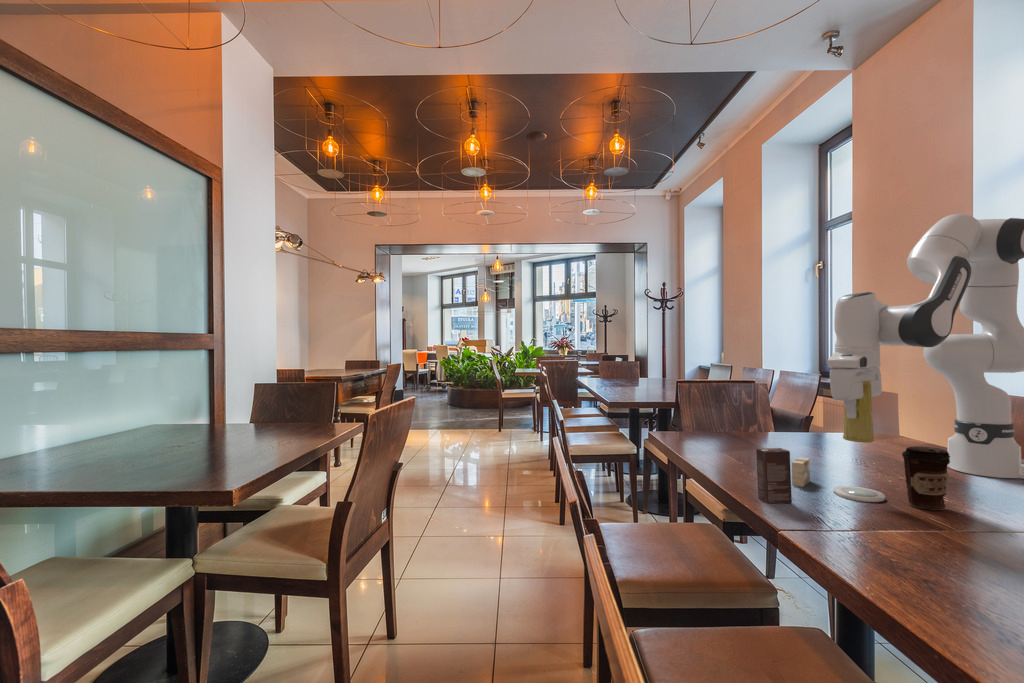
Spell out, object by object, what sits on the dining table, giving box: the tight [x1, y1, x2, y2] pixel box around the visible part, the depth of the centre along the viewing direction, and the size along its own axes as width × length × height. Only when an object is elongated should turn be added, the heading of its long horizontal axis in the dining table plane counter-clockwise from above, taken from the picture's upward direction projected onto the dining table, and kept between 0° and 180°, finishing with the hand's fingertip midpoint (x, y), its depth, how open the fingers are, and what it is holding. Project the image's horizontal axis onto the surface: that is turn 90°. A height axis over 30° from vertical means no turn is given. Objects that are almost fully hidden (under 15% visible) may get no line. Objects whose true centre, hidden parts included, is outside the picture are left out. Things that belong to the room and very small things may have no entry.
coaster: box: [833, 485, 886, 503], centre depth 114 cm, size 10×10×1 cm
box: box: [755, 447, 793, 504], centre depth 111 cm, size 6×4×12 cm
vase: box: [842, 381, 875, 443], centre depth 114 cm, size 6×6×14 cm
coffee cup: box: [901, 445, 950, 511], centre depth 106 cm, size 9×8×13 cm
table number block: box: [791, 456, 811, 488], centre depth 124 cm, size 7×3×6 cm, turn 134°
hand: (858, 416), depth 114 cm, fingers closed on vase, 5 cm apart
